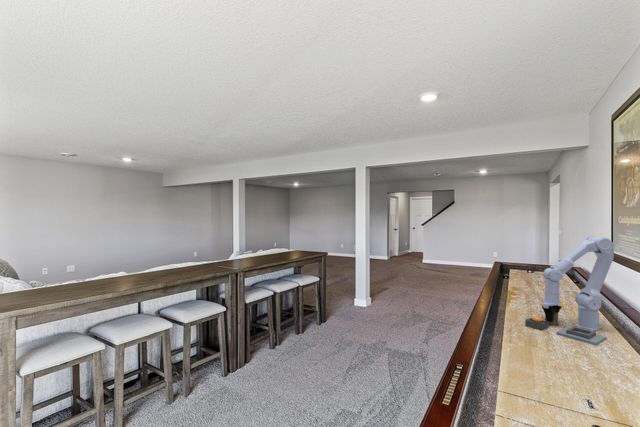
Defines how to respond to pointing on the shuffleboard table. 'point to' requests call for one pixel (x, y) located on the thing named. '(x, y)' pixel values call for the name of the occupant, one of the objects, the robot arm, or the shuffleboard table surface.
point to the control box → (536, 324)
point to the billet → (555, 320)
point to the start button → (537, 319)
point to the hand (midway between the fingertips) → (551, 320)
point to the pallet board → (582, 335)
